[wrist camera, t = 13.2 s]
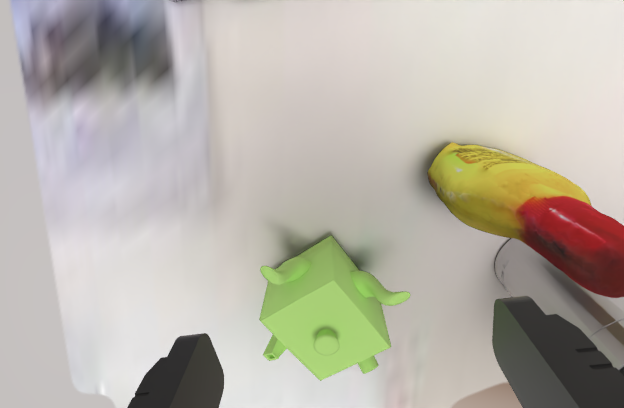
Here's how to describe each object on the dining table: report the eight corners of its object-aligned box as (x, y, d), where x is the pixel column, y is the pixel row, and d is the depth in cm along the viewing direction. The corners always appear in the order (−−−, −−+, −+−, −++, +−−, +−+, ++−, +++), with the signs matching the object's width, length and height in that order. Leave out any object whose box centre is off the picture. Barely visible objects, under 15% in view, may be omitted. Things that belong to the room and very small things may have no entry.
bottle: (541, 149, 35) (773, 253, 17) (516, 203, 38) (695, 343, 20) (431, 130, 35) (550, 217, 17) (413, 186, 38) (499, 314, 19)
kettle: (274, 217, 40) (258, 274, 29) (392, 231, 40) (417, 293, 30) (265, 314, 46) (249, 390, 36) (368, 326, 46) (382, 404, 36)
